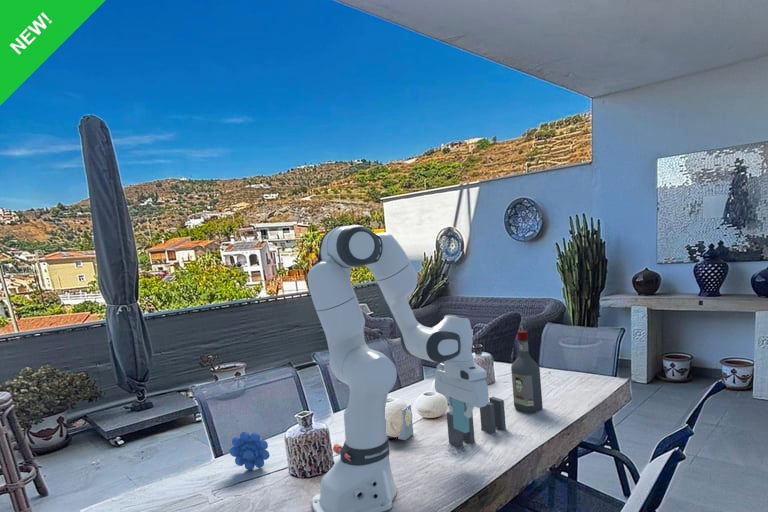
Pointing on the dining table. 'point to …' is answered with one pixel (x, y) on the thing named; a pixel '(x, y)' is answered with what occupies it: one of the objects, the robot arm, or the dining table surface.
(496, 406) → the domino
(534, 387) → the liquor
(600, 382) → the dining table surface
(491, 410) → the domino
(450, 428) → the domino
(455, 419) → the domino
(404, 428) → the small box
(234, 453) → the blue flower
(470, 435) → the domino
